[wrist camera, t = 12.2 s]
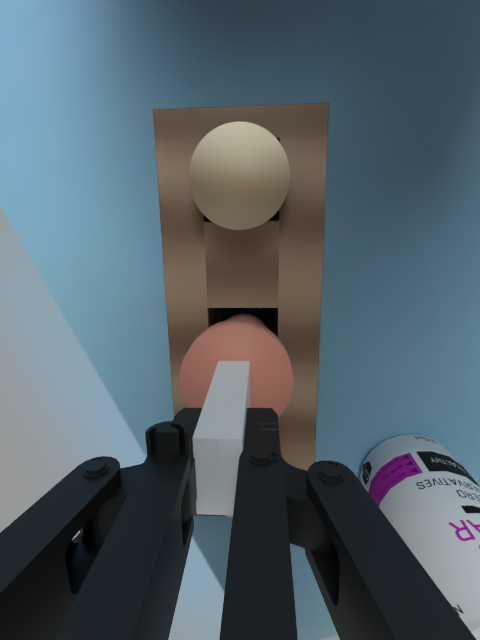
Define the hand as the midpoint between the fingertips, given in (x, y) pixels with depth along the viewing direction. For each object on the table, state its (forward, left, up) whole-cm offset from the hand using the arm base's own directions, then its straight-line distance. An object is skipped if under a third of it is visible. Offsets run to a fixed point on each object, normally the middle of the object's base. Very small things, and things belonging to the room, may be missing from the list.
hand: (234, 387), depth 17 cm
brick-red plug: (0, 0, -7) cm, 7 cm away
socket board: (0, 0, -13) cm, 13 cm away
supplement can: (+14, +14, -13) cm, 24 cm away
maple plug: (-10, 0, -12) cm, 15 cm away
